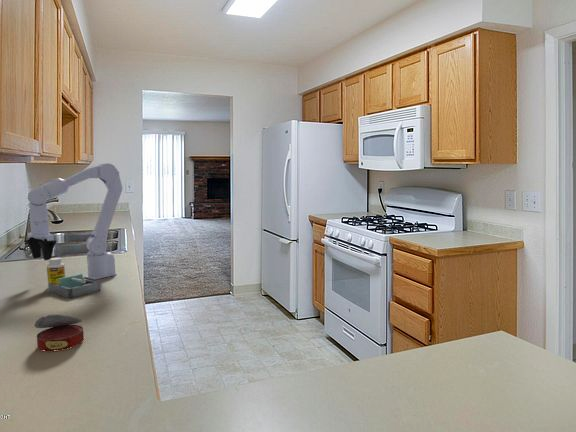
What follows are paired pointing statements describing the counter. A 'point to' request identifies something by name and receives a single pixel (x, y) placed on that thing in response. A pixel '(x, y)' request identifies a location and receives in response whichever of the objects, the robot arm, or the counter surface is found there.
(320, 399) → the counter surface
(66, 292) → the grey piece
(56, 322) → the canned food
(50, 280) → the supplement bottle
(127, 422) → the counter surface
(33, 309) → the counter surface
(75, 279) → the pusher
